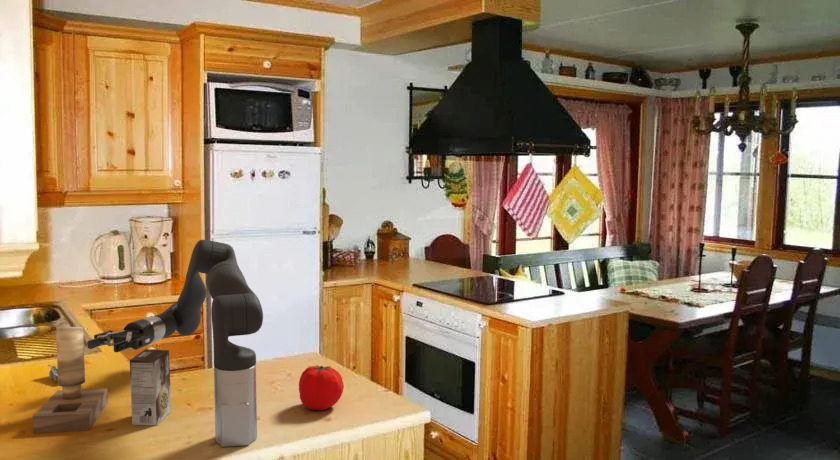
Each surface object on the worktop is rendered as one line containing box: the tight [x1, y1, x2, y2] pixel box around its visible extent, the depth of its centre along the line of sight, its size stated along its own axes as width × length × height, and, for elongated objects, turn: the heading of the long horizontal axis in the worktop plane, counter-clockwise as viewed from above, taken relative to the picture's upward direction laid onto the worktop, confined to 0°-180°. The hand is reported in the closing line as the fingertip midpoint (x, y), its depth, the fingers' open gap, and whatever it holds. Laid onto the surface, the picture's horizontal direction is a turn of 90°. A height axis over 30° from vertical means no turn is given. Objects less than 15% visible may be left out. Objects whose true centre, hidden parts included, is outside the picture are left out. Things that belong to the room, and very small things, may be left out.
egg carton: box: [47, 363, 58, 382], centre depth 200 cm, size 11×8×4 cm
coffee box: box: [129, 348, 172, 427], centre depth 170 cm, size 9×6×16 cm
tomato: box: [298, 364, 345, 411], centre depth 179 cm, size 12×12×11 cm
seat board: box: [32, 387, 109, 434], centre depth 171 cm, size 18×12×4 cm, turn 11°
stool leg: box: [55, 326, 86, 399], centre depth 173 cm, size 6×6×17 cm
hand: (101, 346), depth 183 cm, fingers open, 8 cm apart
